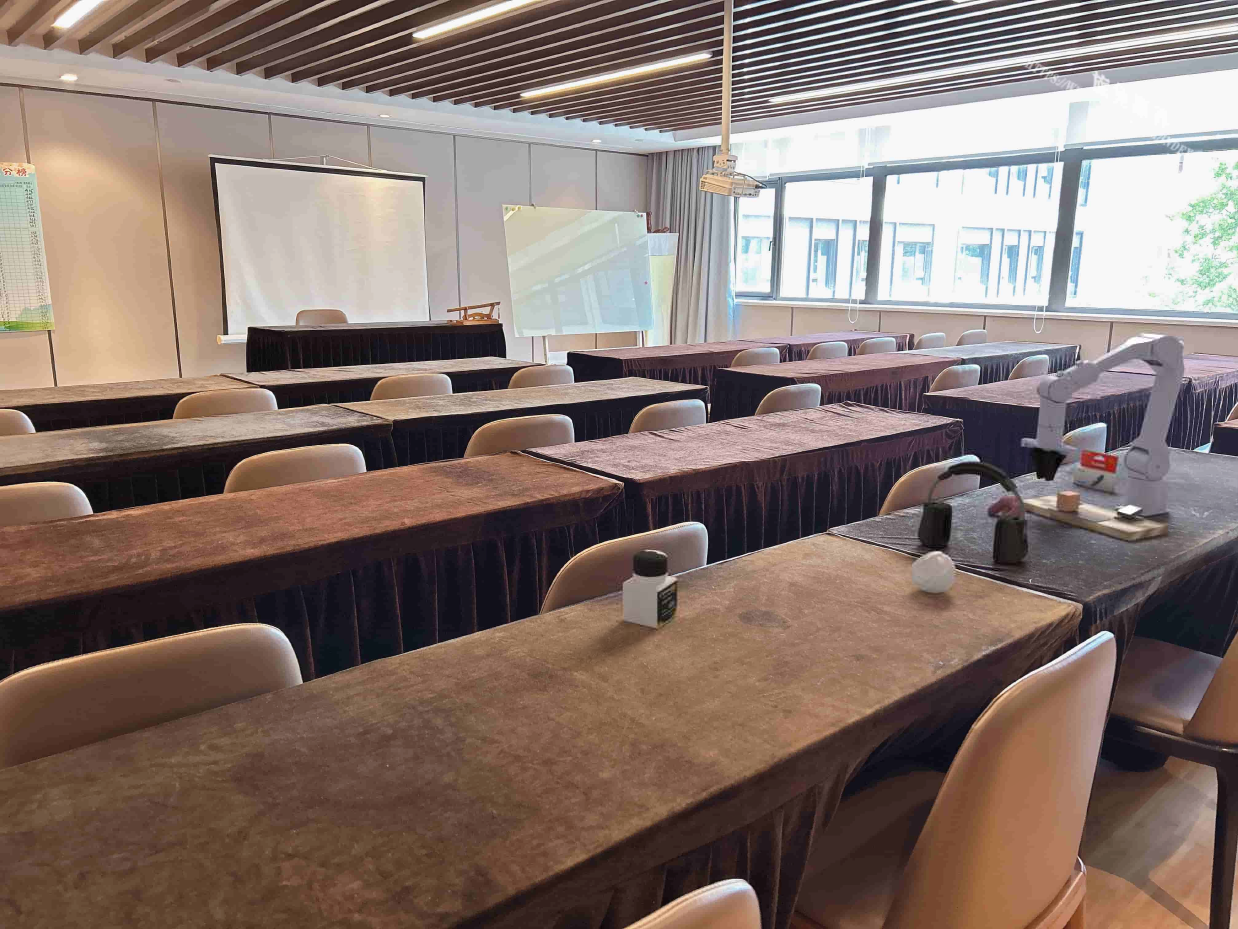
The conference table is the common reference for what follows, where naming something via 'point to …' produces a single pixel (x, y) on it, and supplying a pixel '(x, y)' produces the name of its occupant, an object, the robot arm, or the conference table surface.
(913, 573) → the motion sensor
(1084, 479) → the ink cartridge box
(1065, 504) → the slide paddle
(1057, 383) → the robot arm
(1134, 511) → the rocker switch
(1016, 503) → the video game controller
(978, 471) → the headphones
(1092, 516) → the control panel
